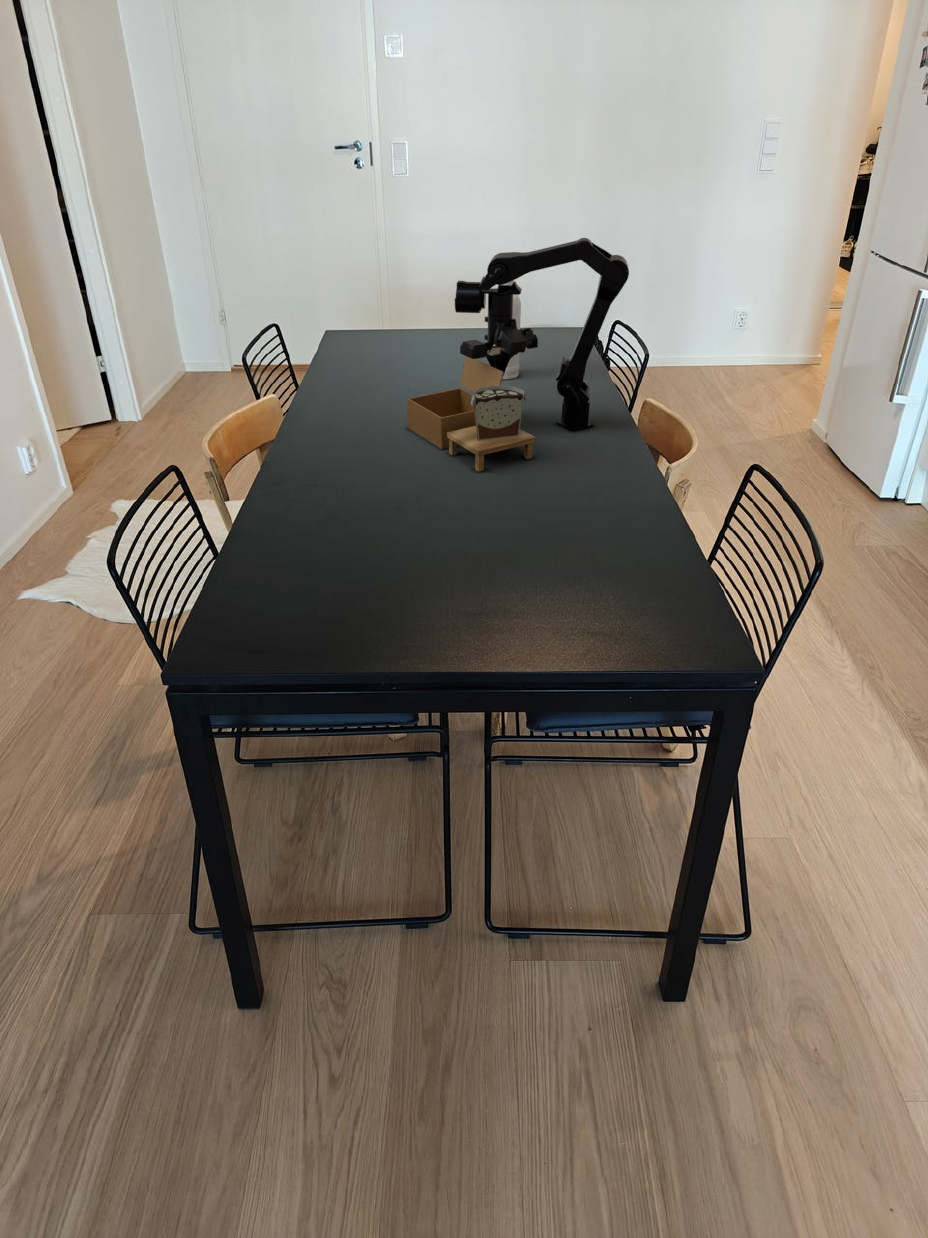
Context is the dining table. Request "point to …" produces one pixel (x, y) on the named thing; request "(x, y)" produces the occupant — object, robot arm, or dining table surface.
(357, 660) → the dining table surface
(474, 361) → the flap
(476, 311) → the robot arm
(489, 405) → the food container
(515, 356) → the bottle
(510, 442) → the stool
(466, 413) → the cardboard box
